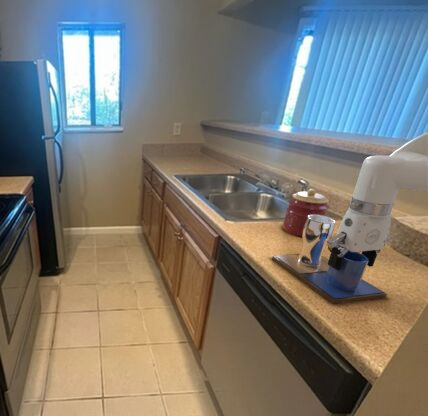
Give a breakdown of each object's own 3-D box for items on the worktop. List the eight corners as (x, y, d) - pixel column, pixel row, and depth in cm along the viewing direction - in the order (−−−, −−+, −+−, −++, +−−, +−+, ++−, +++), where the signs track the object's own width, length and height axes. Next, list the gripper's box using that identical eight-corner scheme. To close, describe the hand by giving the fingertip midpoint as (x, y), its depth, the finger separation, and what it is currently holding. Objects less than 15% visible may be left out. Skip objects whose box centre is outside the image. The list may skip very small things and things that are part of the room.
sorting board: (314, 254, 93) (315, 251, 92) (385, 297, 73) (387, 293, 72) (271, 259, 91) (272, 255, 90) (332, 303, 71) (333, 299, 70)
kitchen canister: (286, 236, 106) (297, 192, 100) (278, 222, 117) (287, 183, 111) (326, 240, 102) (341, 195, 96) (314, 226, 114) (325, 185, 107)
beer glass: (322, 271, 82) (337, 225, 76) (294, 263, 86) (306, 219, 80) (322, 260, 87) (336, 217, 82) (296, 254, 91) (307, 212, 85)
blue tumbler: (340, 274, 80) (349, 247, 77) (364, 290, 73) (376, 261, 70) (318, 277, 79) (327, 249, 76) (341, 292, 73) (352, 263, 69)
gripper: (354, 215, 63) (334, 277, 69) (418, 209, 65) (392, 270, 71) (325, 204, 70) (309, 261, 76) (383, 199, 72) (363, 255, 78)
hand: (349, 265), depth 74 cm, fingers open, 9 cm apart
